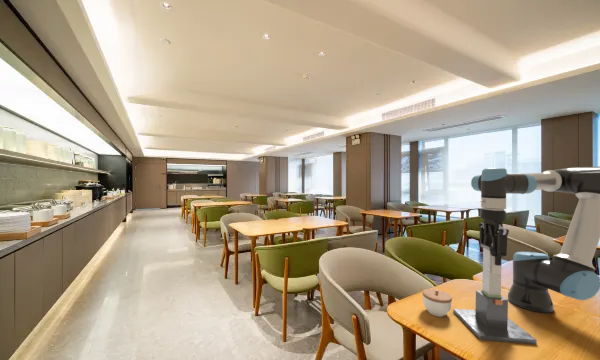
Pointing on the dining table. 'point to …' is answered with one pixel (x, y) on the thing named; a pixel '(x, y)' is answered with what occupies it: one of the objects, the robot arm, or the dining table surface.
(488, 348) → the dining table surface
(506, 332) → the stand housing
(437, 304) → the lidded jar
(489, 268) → the white square column
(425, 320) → the dining table surface
